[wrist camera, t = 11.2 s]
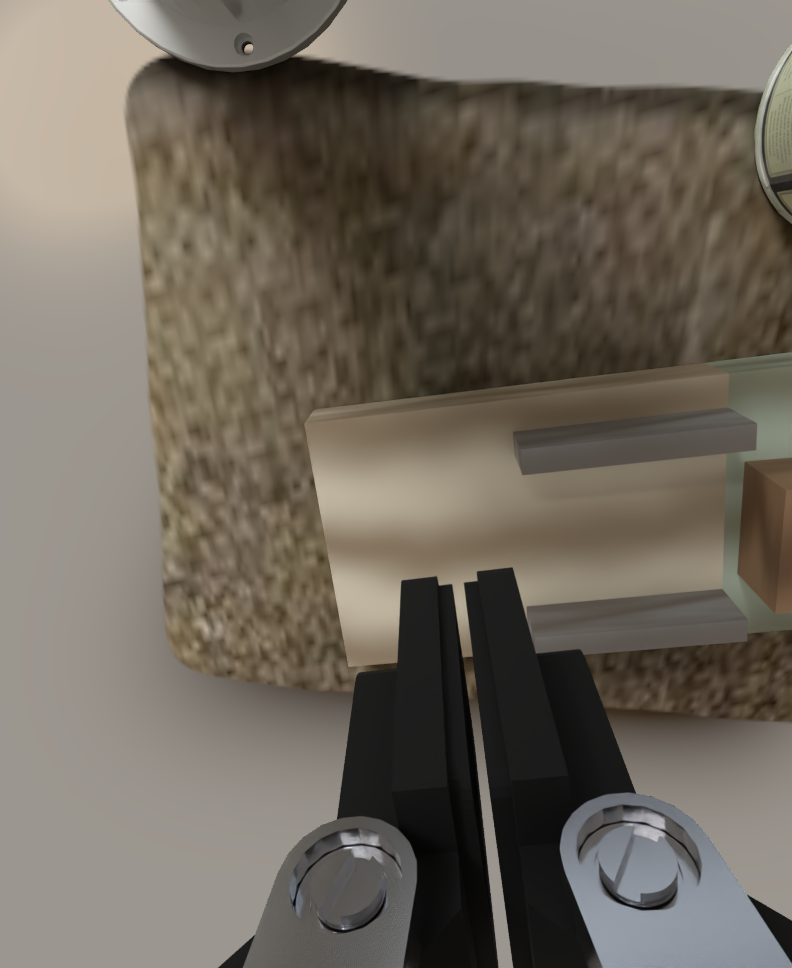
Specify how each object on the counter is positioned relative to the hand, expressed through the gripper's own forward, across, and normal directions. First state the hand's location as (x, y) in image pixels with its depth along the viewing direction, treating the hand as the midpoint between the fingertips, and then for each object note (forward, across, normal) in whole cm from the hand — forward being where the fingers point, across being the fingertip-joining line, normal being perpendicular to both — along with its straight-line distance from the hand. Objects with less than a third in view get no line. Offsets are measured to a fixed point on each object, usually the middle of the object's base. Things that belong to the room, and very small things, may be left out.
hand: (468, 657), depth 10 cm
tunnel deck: (+25, -11, +10) cm, 29 cm away
